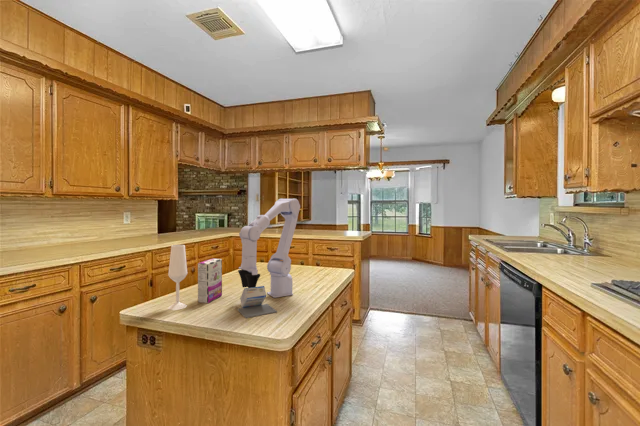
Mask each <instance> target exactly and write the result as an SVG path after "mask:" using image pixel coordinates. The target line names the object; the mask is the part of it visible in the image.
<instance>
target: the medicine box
mask: <svg viewBox="0 0 640 426" xmlns="http://www.w3.org/2000/svg"><path fill="white" fill-rule="evenodd" d="M266 293H267V292H266V289H265V285H260V286H256V287H251V288H248V287H243V290H242V293H241V295H240V298H239V299H240V304H241V308H246V307H251V306H257V305H263V304H264V301H265V299H266V297H267V294H266Z"/></svg>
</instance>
